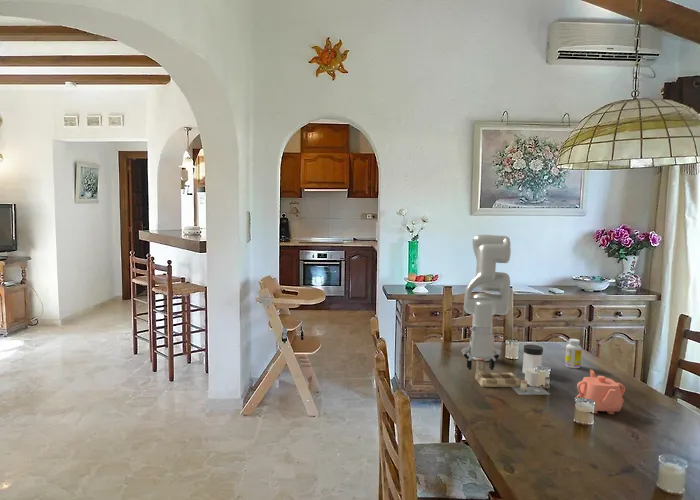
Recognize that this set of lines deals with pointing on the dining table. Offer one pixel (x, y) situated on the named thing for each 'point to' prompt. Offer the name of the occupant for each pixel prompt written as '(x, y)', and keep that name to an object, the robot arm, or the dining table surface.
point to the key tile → (529, 389)
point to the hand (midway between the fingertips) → (480, 369)
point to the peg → (480, 365)
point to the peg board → (497, 380)
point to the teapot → (602, 392)
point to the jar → (532, 357)
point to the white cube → (531, 377)
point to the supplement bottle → (573, 354)
